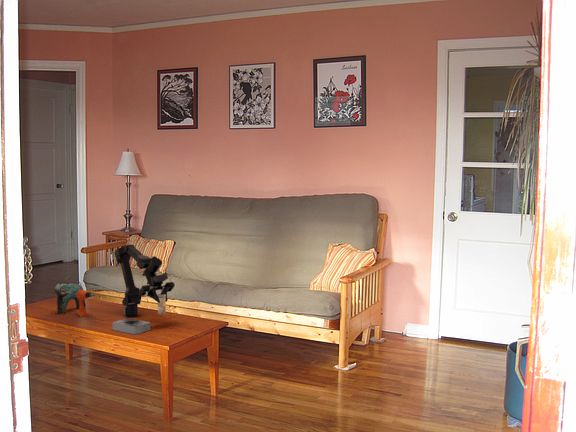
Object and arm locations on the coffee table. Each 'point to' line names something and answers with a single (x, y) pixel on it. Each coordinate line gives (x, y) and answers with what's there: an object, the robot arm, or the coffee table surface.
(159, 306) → the pin
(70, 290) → the green power drill
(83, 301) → the toy drill
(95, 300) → the coffee table surface
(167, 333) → the coffee table surface
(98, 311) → the coffee table surface
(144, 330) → the socket block
